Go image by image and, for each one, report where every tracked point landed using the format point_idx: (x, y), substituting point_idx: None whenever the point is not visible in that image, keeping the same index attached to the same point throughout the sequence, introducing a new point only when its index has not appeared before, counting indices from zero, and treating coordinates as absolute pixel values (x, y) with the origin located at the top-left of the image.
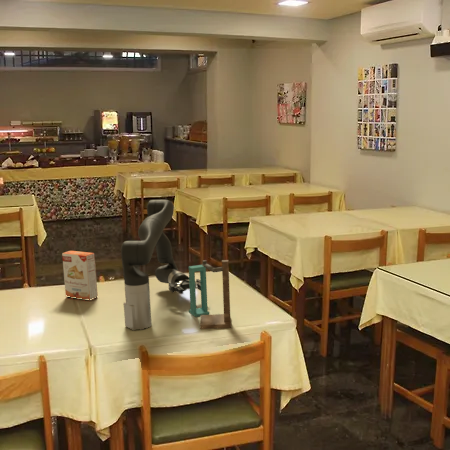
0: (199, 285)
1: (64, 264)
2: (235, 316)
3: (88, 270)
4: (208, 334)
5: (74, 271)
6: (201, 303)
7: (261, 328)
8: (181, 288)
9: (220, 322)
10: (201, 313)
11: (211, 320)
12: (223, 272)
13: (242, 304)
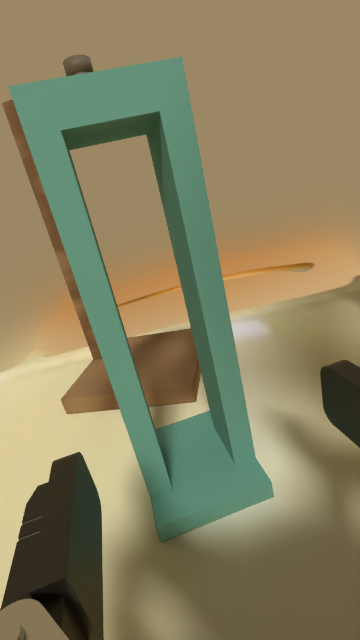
0: (75, 492)
1: None
2: (38, 425)
3: None
4: (186, 322)
5: None
6: (161, 453)
7: (38, 356)
8: (346, 367)
9: (134, 344)
10: (185, 420)
11: (158, 351)
12: None
13: None
